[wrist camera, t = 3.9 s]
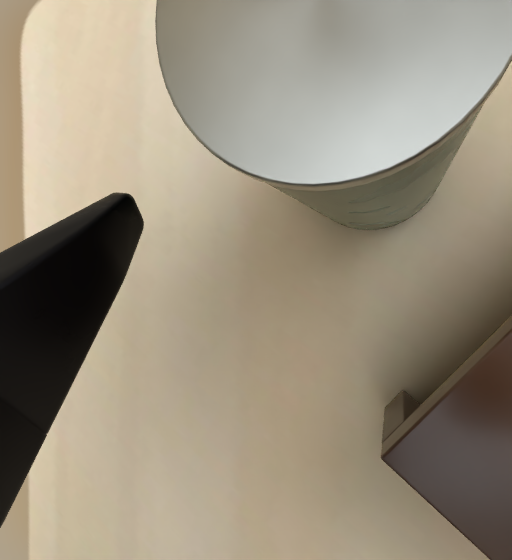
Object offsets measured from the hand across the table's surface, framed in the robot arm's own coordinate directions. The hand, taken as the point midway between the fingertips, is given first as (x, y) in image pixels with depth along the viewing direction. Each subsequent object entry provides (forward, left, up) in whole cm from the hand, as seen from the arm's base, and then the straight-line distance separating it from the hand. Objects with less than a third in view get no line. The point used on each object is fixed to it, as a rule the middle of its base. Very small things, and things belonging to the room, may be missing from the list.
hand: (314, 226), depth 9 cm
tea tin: (+3, +2, -10) cm, 11 cm away
